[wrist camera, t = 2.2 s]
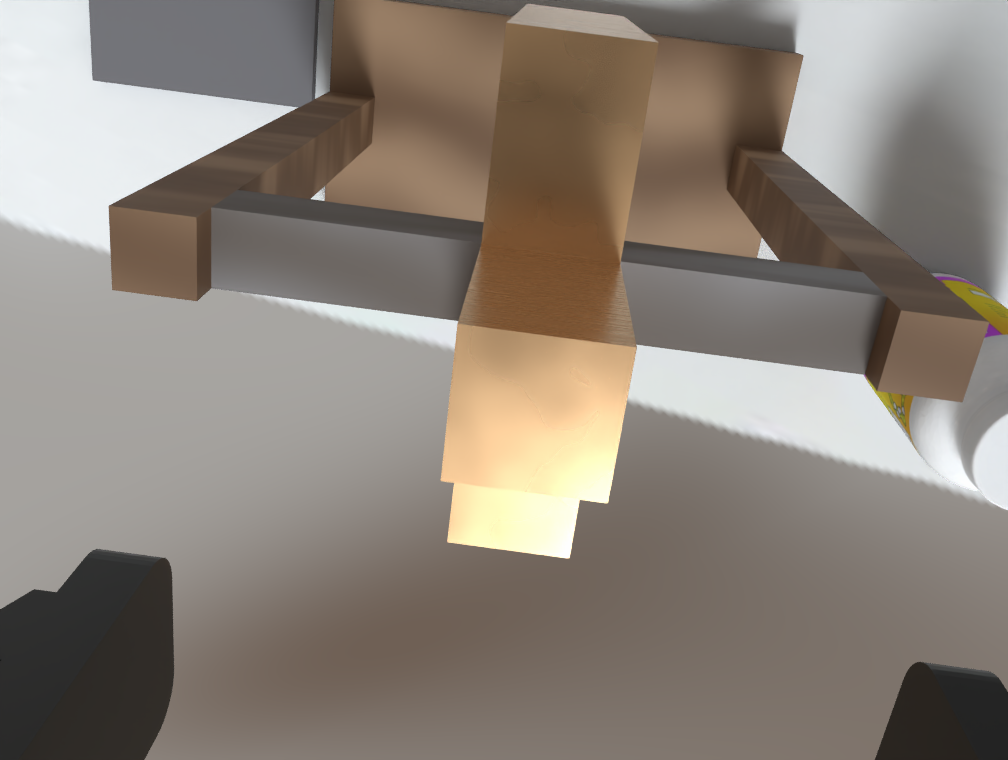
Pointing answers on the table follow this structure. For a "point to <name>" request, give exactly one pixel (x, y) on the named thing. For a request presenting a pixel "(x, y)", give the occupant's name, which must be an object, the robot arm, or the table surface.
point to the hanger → (549, 285)
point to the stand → (463, 191)
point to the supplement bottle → (966, 409)
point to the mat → (209, 47)
